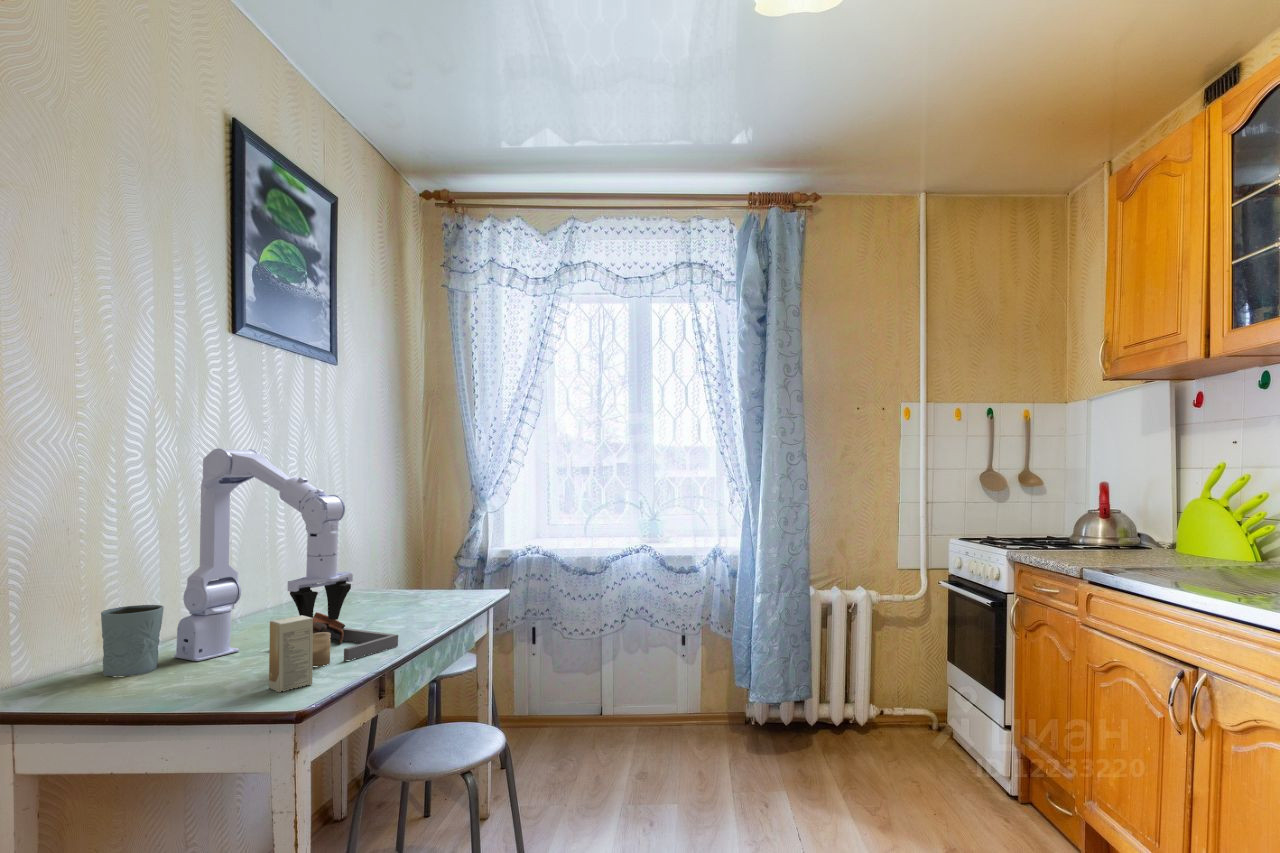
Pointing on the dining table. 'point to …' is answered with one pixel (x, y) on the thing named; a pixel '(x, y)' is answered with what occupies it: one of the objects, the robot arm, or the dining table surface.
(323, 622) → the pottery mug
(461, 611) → the dining table surface
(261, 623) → the dining table surface
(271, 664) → the skincare box
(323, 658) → the oak dowel
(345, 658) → the frame
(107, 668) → the grey green plant pot
